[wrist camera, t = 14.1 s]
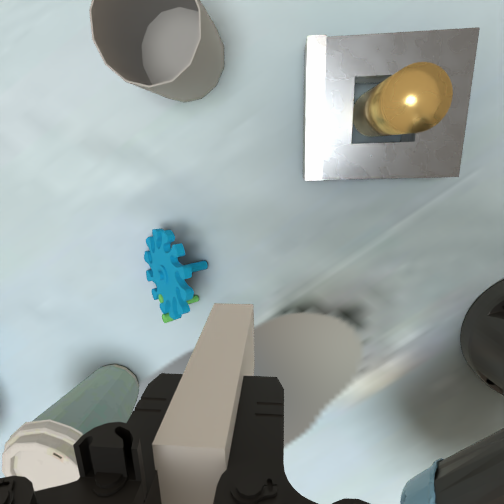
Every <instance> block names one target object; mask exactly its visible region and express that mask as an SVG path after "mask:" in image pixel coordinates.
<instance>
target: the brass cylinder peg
mask: <svg viewBox="0 0 504 504" xmlns="http://www.w3.org/2000/svg"><path fill="white" fill-rule="evenodd" d="M452 96H453V88H452V83H451V80H450V78H449V76H448V74H447V73H446V72H445V71H444V70H443V69H442V68H441V67H439V66H438V65H436V64H433V63H430V62H417V63H413V64H410V65H408V66H406V67H404V68H403V69H401V70H399V71H398V72H396V73H395V74H393V75H392V76H390V77H389V78H387V79H386V80H384V81H383V82H381V83H379V84H378V85H376V86H375V87H373V88H372V89H370V90H369V91H367V92H366V93H364V94H363V95H362V96H360V97H359V99H358V100H357V101H356V103H355V105H354V107H353V124H354V126H355V128H356V129H357V130H358V131H359V132H360V133H361V134H363V135H365V136H370V137H375V136H387V135H398V134H410V133H419V132H424V131H426V130H429V129H431V128H432V127H434V126H435V125H437V124H438V123H439V122H440V121H441V120H442V119H443V118H444V116H445V115H446V113H447V112H448V110H449V108H450V105H451V102H452Z"/></svg>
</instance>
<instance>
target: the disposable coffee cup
mask: <svg viewBox="0 0 504 504" xmlns="http://www.w3.org/2000/svg"><path fill="white" fill-rule="evenodd" d="M138 392H139V384H138V381H137V379H136V376H135V375H134V374H133V373H132V372H131V371H130V370H128V369H127V368H125V367H122V366H119V365H116V364H113V365H107V366H104V367H100V368H99V369H98V370H96V371H95V372H94V373H93V374H91V375H90V376H89V377H88V378H86V379H85V380H84V381H82V382H81V383H80V384H79V385H77V386H76V387H75V388H74V389H72V390H71V391H70V392H69V393H67V394H66V395H65V396H63V397H62V398H61V399H60V400H58V401H57V402H56V403H55V404H53V405H52V406H51V407H50V408H48V409H47V410H46V411H44V412H43V413H42V414H41V415H39V416H38V417H37V418H36V419H34V420H33V421H32V422H25V423H24V424H23V425H22V426H21V427H20V428H19V429H18V430H17V431H16V432H15V433H14V434H12V435H11V436H10V439H9V440H8V441H7V442H6V443H5V449H4V452H3V454H2V472H3V473H4V475H5V477H9V476H14V475H15V476H23V477H26V478H27V479H29V480H30V481H31V482H32V484H33V488H34V491H38V490H42V489H47V488H51V487H55V486H60V485H64V484H68V483H71V482H74V481H77V480H78V479H79V477H80V475H79V470H78V466H77V461H76V456H75V452H74V447H73V445H74V444H75V443H76V441H77V440H78V439H79V438H80V437H81V436H82V435H83V434H85V433H87V432H88V431H90V430H91V429H93V428H94V427H97V426H100V425H103V424H106V423H111V422H124V423H127V421H128V419H129V418H130V416H131V413H132V411H133V408H134V405H135V403H136V401H137V397H138Z"/></svg>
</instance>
